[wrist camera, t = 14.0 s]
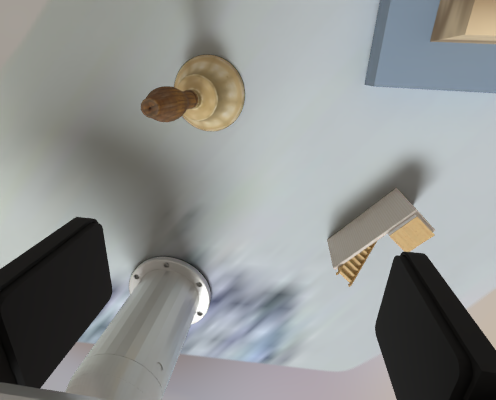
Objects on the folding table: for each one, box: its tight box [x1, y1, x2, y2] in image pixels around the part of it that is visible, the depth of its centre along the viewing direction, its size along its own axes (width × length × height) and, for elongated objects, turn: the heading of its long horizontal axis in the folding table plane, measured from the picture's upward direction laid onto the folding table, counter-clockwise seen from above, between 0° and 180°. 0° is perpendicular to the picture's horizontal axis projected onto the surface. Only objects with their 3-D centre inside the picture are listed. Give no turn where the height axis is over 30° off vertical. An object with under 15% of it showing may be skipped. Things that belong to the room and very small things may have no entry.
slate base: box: [365, 0, 496, 93], centre depth 28 cm, size 14×14×4 cm
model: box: [327, 188, 435, 287], centre depth 36 cm, size 3×11×8 cm, turn 136°
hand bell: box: [141, 55, 245, 131], centre depth 28 cm, size 8×8×16 cm
